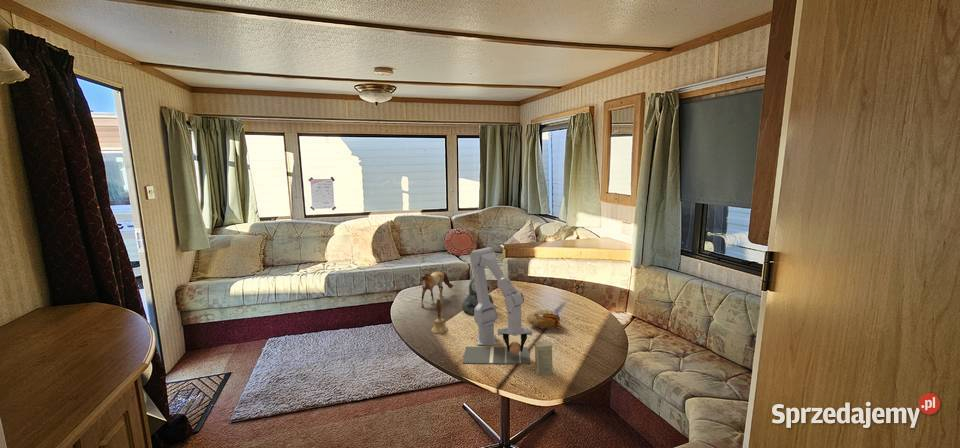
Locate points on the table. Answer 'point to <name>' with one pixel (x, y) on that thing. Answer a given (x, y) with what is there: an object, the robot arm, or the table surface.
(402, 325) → the table surface
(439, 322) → the hand bell
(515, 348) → the ball
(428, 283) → the horse figurine
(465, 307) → the koala plush
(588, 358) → the table surface
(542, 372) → the skincare box
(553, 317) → the nautilus
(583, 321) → the table surface
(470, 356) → the lane mat
